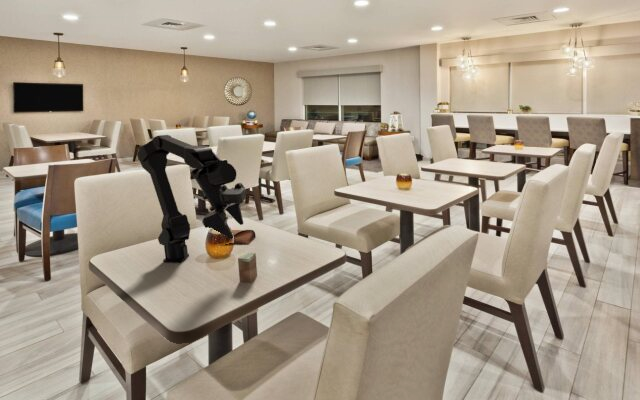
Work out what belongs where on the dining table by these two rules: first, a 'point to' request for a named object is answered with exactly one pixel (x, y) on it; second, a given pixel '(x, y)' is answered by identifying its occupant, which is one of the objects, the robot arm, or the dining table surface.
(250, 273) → the walnut block
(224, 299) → the dining table surface
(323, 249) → the dining table surface
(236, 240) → the sunglasses case
